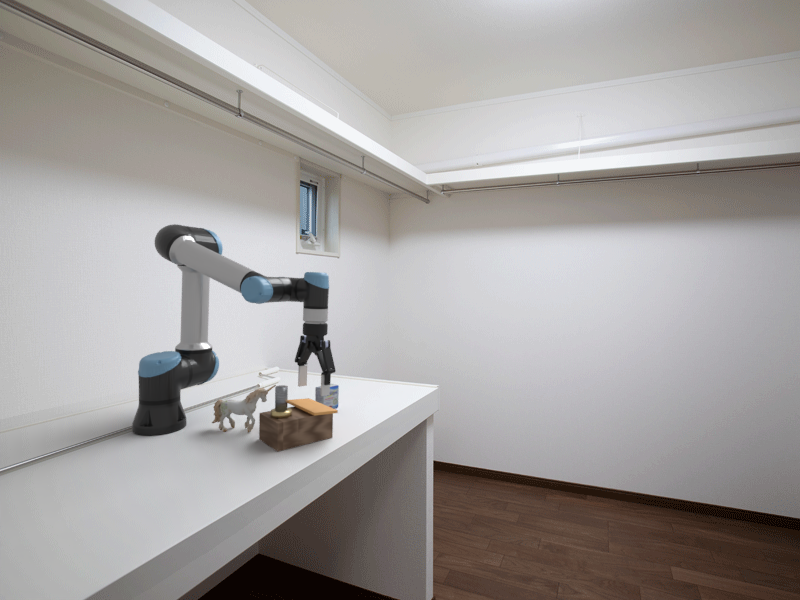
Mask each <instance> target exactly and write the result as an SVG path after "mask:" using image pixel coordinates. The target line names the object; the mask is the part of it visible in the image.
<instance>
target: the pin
mask: <svg viewBox="0 0 800 600" xmlns="http://www.w3.org/2000/svg"><path fill="white" fill-rule="evenodd" d="M274 388H275V389H274V391H275V392H274V393H275V394H274V408H272V409H271V410H270V411H271V417H272V418H276V419H282V418H288V417H290V416H292V409H290V408H289V407H288V403H287V401H288V400H289V398H288V397H289V396H288V395H289V394H288V390H289V389H288V385H285V384H284V385H283V384H282V385H276V386H275V387H274Z"/></svg>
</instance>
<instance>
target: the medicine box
mask: <svg viewBox="0 0 800 600" xmlns="http://www.w3.org/2000/svg"><path fill="white" fill-rule="evenodd" d="M339 387H340V386H339V384H335V383H330V395H326V396H321V385H319V386H316V387H315V396H314V397H315V399H314V401H317V402H319V403H321V404H324V405H326V406H328V407H331V408H333V409H337V408H339V393H340V391H339V390H340V389H339Z"/></svg>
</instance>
